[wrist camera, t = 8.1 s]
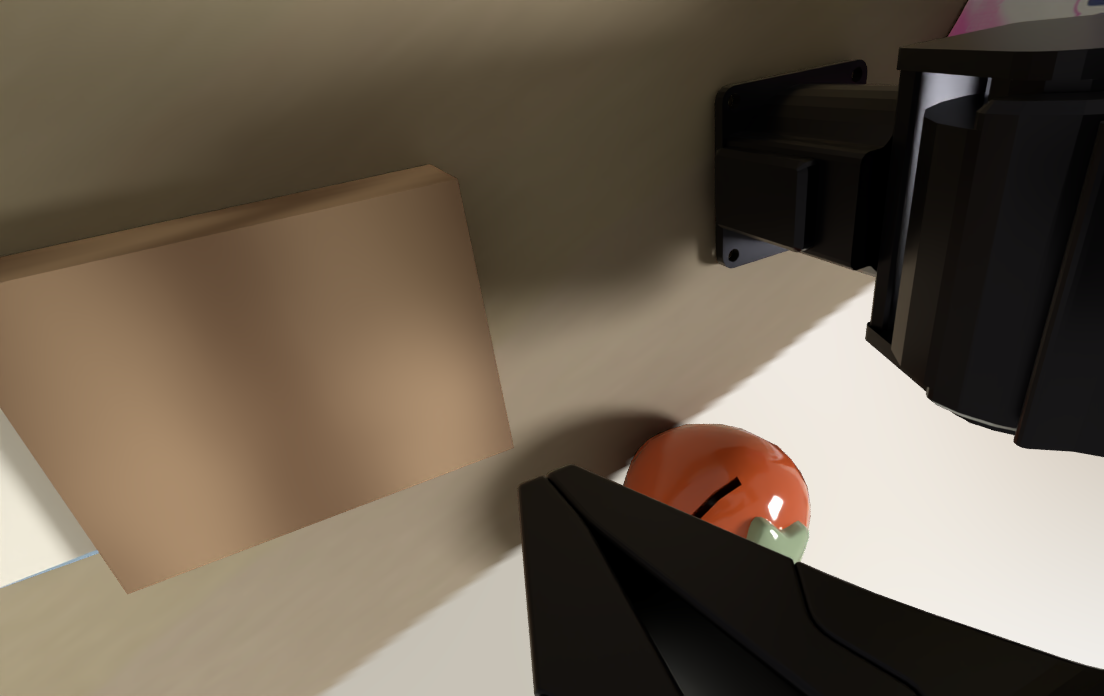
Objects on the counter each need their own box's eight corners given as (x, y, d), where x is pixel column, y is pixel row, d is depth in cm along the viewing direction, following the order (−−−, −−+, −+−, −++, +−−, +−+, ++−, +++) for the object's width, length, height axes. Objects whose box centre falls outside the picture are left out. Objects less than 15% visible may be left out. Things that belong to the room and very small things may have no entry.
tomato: (667, 362, 24) (819, 470, 18) (758, 435, 28) (909, 545, 22) (556, 503, 25) (664, 660, 18) (661, 555, 29) (780, 699, 22)
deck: (429, 163, 18) (457, 179, 15) (485, 404, 22) (513, 447, 19) (-15, 260, 14) (-74, 299, 12) (146, 523, 18) (127, 594, 16)
